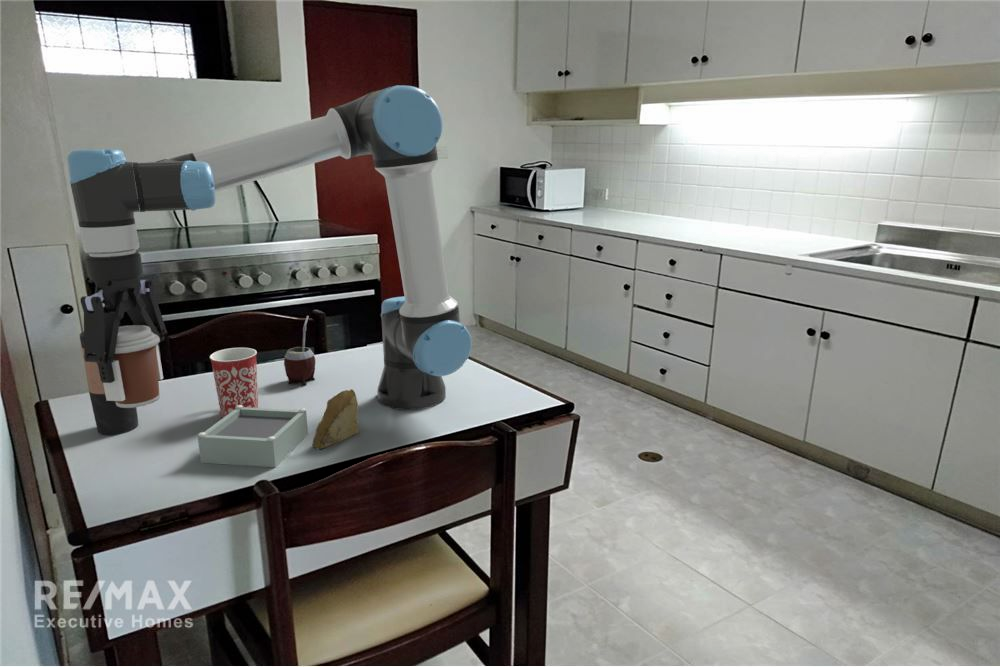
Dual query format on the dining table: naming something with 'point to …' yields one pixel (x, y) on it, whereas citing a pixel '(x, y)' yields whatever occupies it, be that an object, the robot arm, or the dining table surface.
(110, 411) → the travel mug
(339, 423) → the rock
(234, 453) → the pale green square tray
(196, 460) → the dining table surface
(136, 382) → the coffee cup
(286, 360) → the mate gourd
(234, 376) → the mug
